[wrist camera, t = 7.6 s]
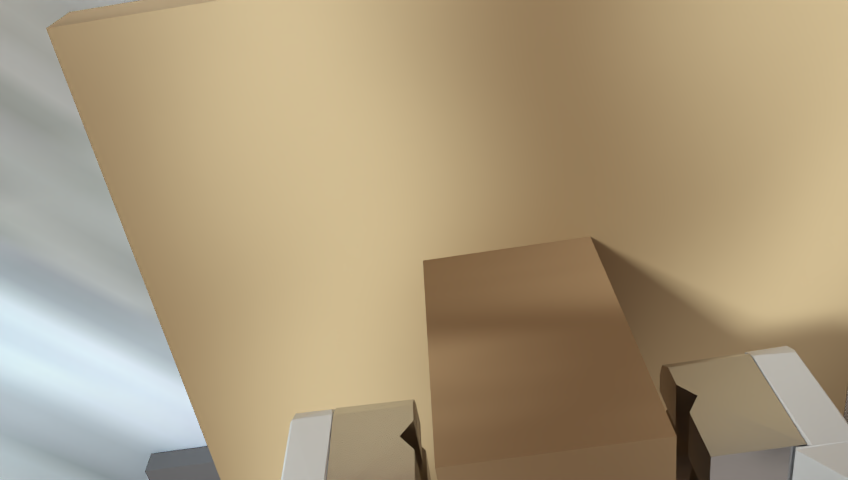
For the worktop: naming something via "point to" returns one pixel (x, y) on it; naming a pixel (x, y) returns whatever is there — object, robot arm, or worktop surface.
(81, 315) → the worktop surface
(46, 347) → the worktop surface
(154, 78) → the lid
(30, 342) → the worktop surface
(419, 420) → the robot arm
